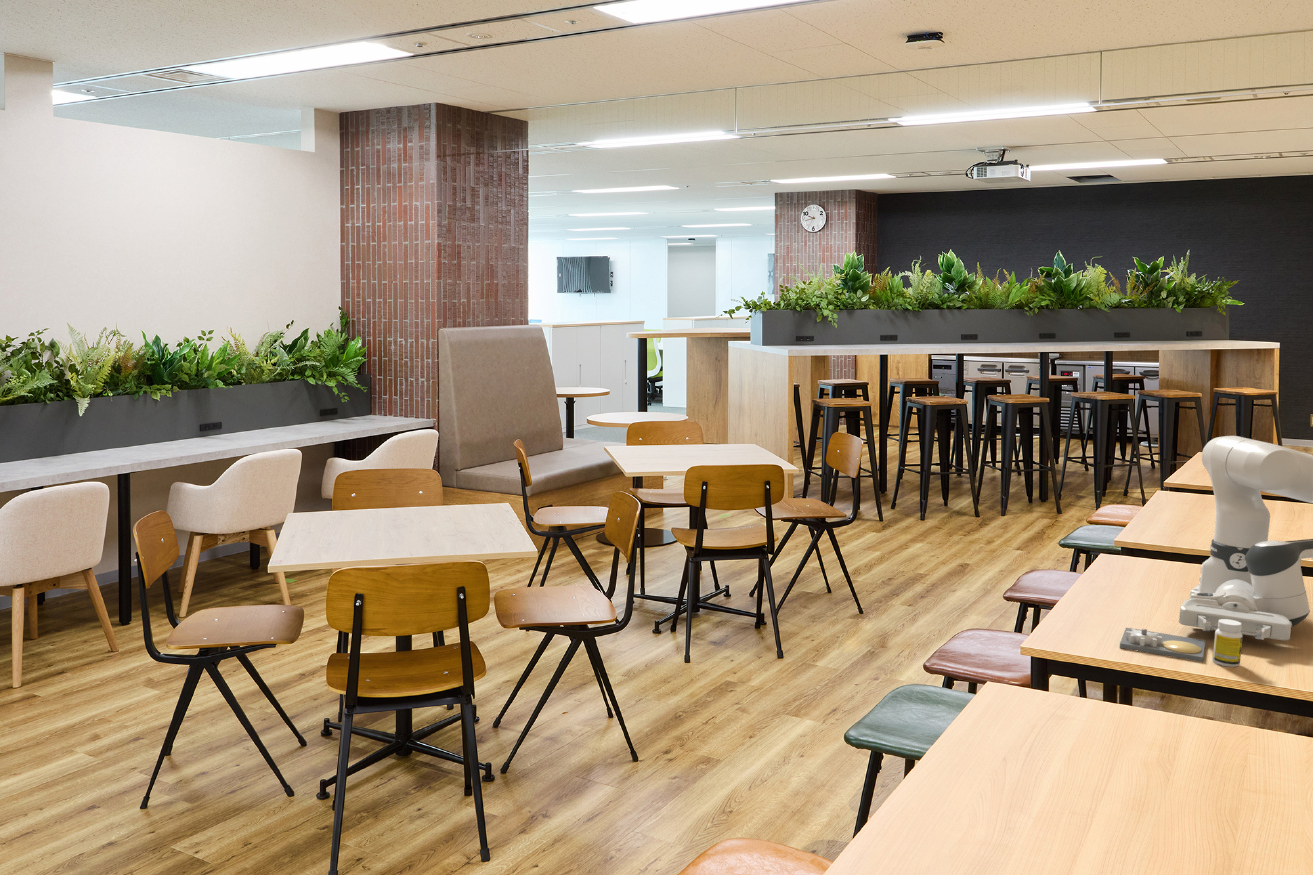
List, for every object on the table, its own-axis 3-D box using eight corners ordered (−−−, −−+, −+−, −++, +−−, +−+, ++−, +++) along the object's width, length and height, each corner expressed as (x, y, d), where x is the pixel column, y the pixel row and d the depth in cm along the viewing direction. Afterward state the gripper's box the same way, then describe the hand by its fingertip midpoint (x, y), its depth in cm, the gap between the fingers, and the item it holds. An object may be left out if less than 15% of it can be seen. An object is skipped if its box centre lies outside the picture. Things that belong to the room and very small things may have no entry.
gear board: (1125, 631, 218) (1127, 616, 217) (1204, 644, 211) (1206, 628, 210) (1119, 647, 208) (1121, 631, 207) (1202, 662, 200) (1204, 645, 200)
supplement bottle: (1243, 668, 197) (1247, 626, 196) (1216, 666, 198) (1221, 624, 197) (1234, 660, 202) (1238, 619, 201) (1208, 658, 203) (1212, 617, 202)
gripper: (1290, 635, 213) (1291, 656, 201) (1180, 619, 223) (1176, 637, 212) (1293, 606, 212) (1294, 625, 200) (1183, 591, 223) (1178, 608, 211)
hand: (1232, 631), depth 206 cm, fingers open, 8 cm apart
